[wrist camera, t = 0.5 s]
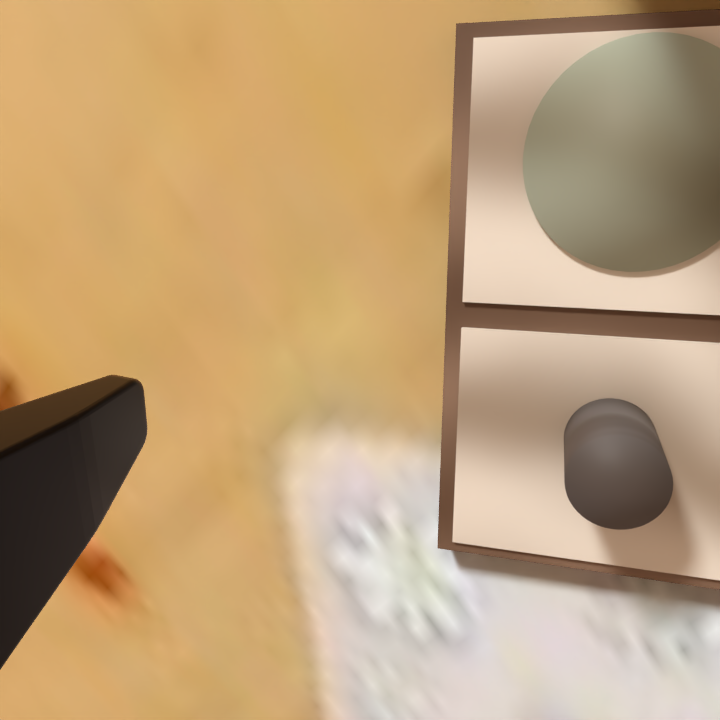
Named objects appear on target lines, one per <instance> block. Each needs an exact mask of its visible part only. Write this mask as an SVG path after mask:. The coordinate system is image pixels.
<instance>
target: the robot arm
mask: <svg viewBox="0 0 720 720" xmlns="http://www.w3.org/2000/svg"><path fill="white" fill-rule="evenodd" d="M146 436H147V419H146V409H145V398H144V390H143V386H142V384H141V382H140V381H138V380H137V379H133V378H128V377H123V376H118V375H109V376H106V377H103V378H100V379H97V380H94V381H91V382H88V383H84V384H81V385H78V386H75V387H72V388H69V389H66V390H63V391H60V392H57V393H54V394H51V395H48V396H45V397H42V398H39V399H35V400H32V401H29V402H26V403H23V404H20V405H17V406H14V407H11V408H8V409H5V410H2V411H0V669H1V668H2V666H3V665H4V663H5V662H6V661H7V659H8V658H9V656H10V655H11V653H12V652H13V650H14V649H15V648H16V646H17V645H18V643H19V642H20V640H21V639H22V638H23V636H24V635H25V633H26V632H27V630H28V629H29V628H30V626H31V625H32V623H33V622H34V620H35V619H36V617H37V616H38V615H39V613H40V612H41V610H42V609H43V607H44V606H45V605H46V603H47V602H48V600H49V599H50V597H51V596H52V594H53V593H54V592H55V590H56V589H57V587H58V586H59V584H60V583H61V582H62V580H63V579H64V577H65V576H66V574H67V573H68V572H69V570H70V569H71V567H72V566H73V564H74V563H75V561H76V560H77V559H78V557H79V556H80V554H81V553H82V551H83V550H84V549H85V547H86V546H87V544H88V543H89V541H90V540H91V538H92V537H93V535H94V534H95V532H96V531H97V529H98V527H99V525H100V524H101V522H102V520H103V519H104V517H105V515H106V513H107V511H108V510H109V508H110V506H111V504H112V502H113V500H114V498H115V497H116V495H117V493H118V491H119V489H120V487H121V486H122V484H123V482H124V480H125V478H126V476H127V475H128V473H129V471H130V469H131V467H132V465H133V464H134V462H135V460H136V458H137V456H138V454H139V453H140V451H141V449H142V447H143V445H144V443H145V440H146Z"/></svg>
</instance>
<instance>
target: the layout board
mask: <svg viewBox="0 0 720 720" xmlns="http://www.w3.org/2000/svg"><path fill="white" fill-rule="evenodd" d="M438 548H440V549H447V550H454V551H461V552H467V553H474V554H481V555H488V556H495V557H501V558H508V559H515V560H522V561H529V562H535V563H542V564H549V565H556V566H563V567H569V568H576V569H583V570H590V571H597V572H603V573H610V574H617V575H624V576H631V577H637V578H644V579H651V580H658V581H665V582H671V583H678V584H685V585H692V586H699V587H705V588H712V589H719V590H720V9H715V10H696V11H678V12H660V13H642V14H624V15H605V16H587V17H569V18H551V19H532V20H514V21H496V22H478V23H459V24H456V48H455V76H454V104H453V132H452V160H451V188H450V216H449V244H448V272H447V300H446V328H445V356H444V384H443V412H442V440H441V468H440V496H439V524H438Z"/></svg>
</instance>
